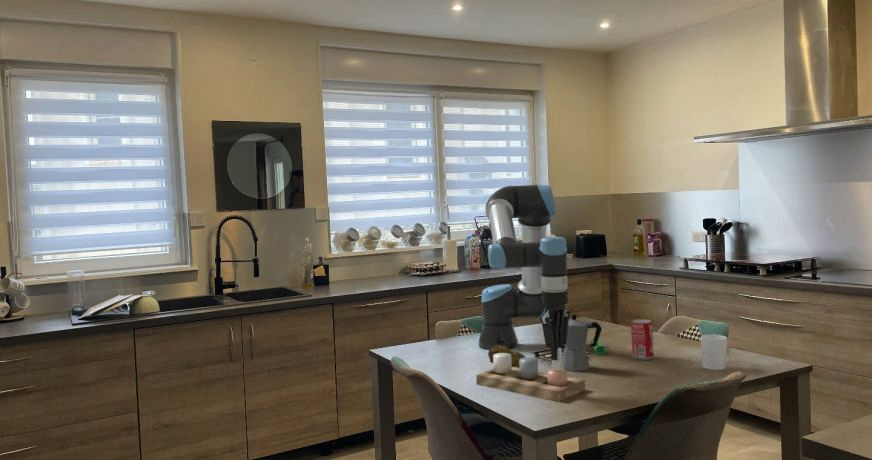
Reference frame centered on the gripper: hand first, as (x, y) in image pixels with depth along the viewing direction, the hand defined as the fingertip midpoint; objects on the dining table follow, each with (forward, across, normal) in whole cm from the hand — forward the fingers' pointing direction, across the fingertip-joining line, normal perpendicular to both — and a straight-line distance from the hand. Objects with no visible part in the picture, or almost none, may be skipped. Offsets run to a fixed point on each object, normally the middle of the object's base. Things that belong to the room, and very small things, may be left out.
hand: (557, 370), depth 194 cm
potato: (+7, +13, +28) cm, 32 cm away
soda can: (+7, +51, -2) cm, 51 cm away
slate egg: (+3, 0, +10) cm, 10 cm away
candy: (+7, +52, +16) cm, 55 cm away
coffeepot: (+7, +27, +9) cm, 29 cm away
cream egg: (+3, 0, +20) cm, 20 cm away
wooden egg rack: (+7, 0, +10) cm, 12 cm away
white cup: (+7, +52, -26) cm, 59 cm away
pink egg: (+5, 0, 0) cm, 5 cm away
